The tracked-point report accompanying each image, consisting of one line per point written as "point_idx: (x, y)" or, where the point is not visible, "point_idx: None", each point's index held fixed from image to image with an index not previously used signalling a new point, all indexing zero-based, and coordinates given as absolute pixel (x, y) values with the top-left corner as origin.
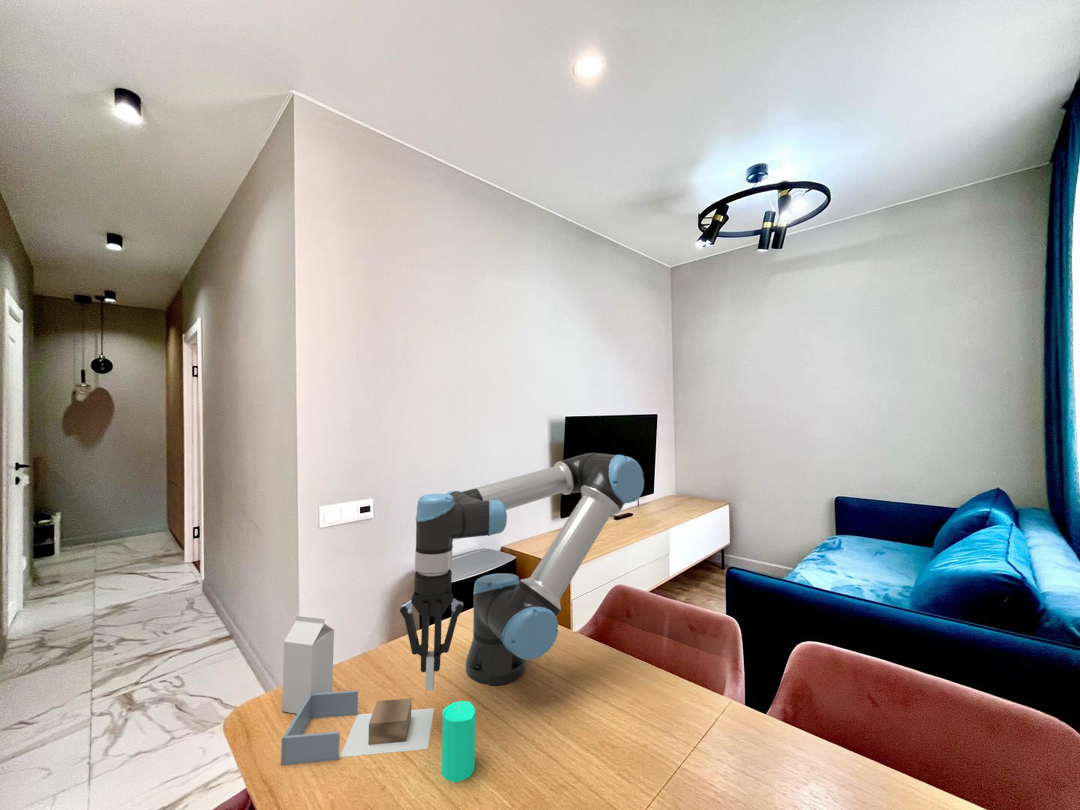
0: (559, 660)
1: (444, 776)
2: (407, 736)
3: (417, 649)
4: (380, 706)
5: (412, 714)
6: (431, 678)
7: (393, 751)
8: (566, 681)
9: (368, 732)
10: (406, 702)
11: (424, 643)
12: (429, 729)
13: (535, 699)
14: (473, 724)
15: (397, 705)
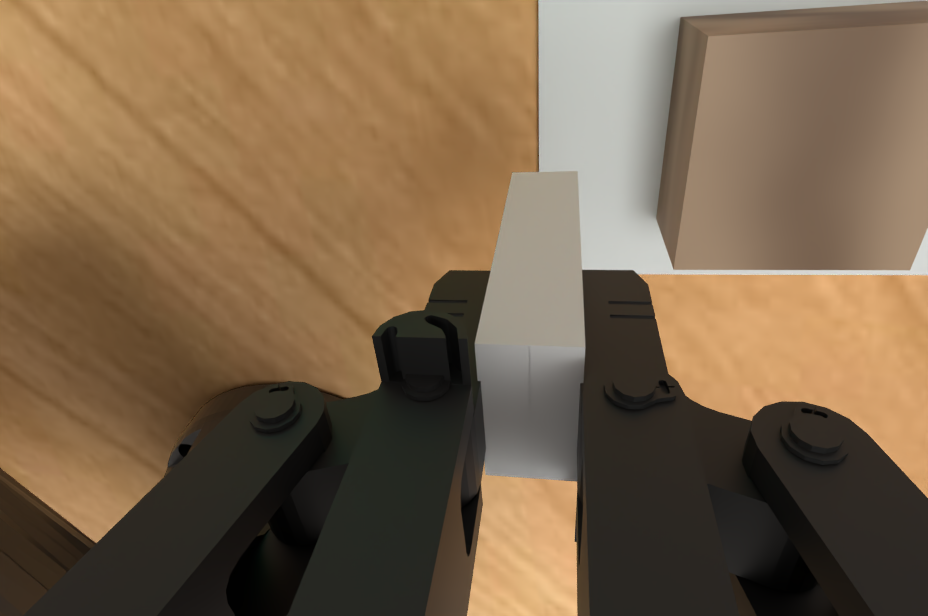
0: (80, 475)
1: None
2: (671, 62)
3: (771, 464)
4: (892, 212)
5: (649, 241)
6: (521, 215)
7: None
8: (6, 367)
9: None
10: (706, 232)
11: (648, 551)
12: (546, 114)
13: (87, 281)
14: None
15: (768, 211)
